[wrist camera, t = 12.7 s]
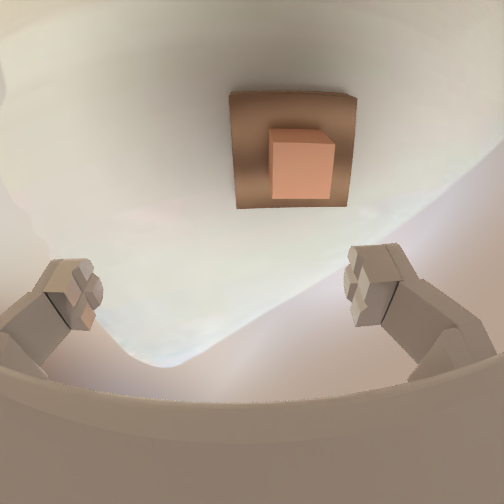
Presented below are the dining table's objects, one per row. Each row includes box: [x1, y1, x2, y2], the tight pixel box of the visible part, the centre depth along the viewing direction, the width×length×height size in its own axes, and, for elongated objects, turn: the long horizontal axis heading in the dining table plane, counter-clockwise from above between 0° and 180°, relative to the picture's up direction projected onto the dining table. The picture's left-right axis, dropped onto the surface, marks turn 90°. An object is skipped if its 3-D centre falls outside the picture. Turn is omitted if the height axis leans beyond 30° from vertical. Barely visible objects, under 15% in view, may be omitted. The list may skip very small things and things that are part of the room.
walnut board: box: [229, 91, 357, 209], centre depth 28 cm, size 12×12×4 cm
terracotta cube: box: [268, 128, 335, 199], centre depth 25 cm, size 5×5×5 cm
